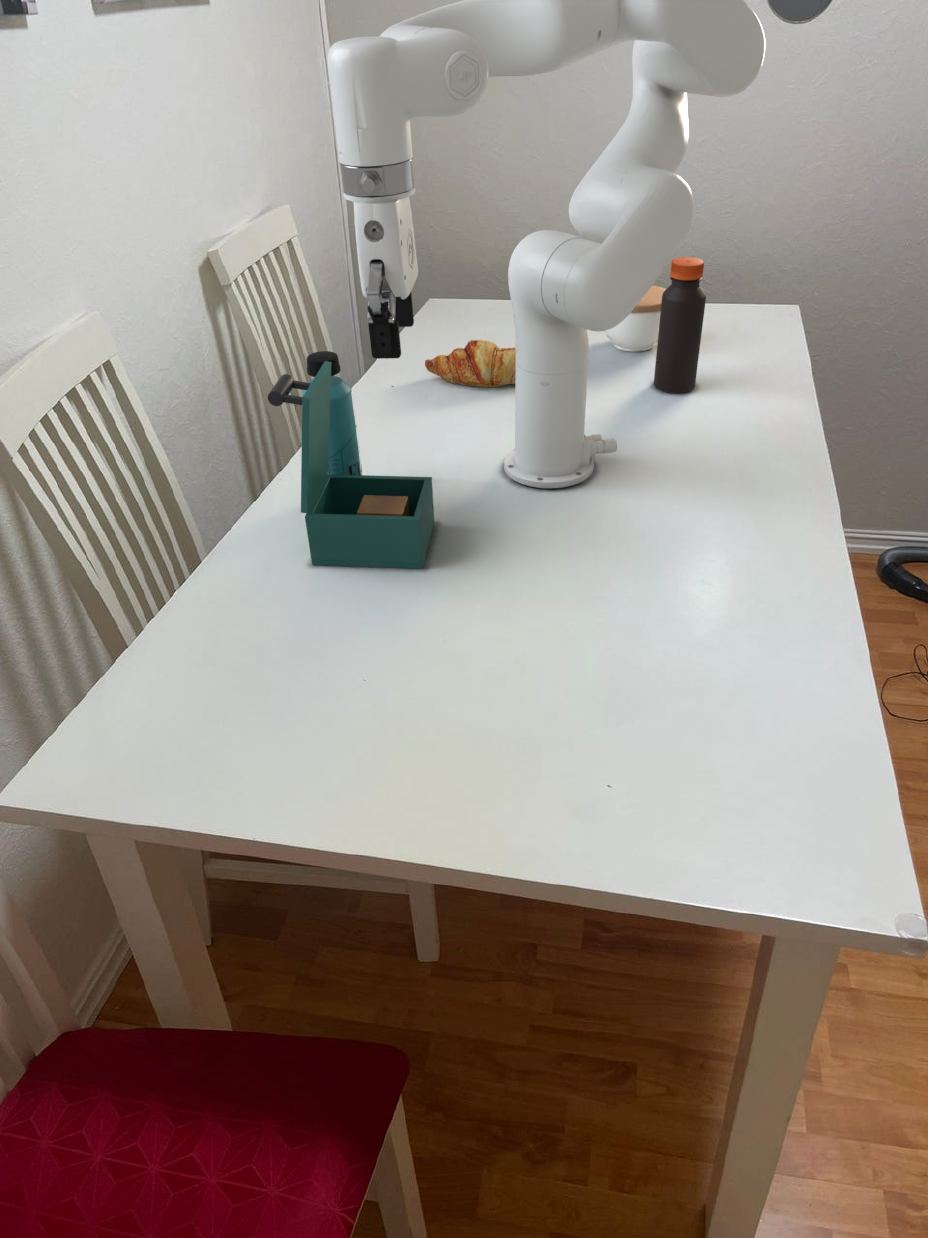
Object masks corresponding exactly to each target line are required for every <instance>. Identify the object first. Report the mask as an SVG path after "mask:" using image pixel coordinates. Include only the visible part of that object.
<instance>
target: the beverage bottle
mask: <svg viewBox="0 0 928 1238" xmlns="http://www.w3.org/2000/svg"><path fill="white" fill-rule="evenodd" d="M325 361H327V362H331V393H330V424H329V454H328V472H327V474H329V475H363V468H362V465H361V459H362V457H361V456H360V446H359V445H360V444H359V440H358V434H357V433H358V432H357V426H358V425H357V423H356V417H357V416H356V414H355V410H354V401H353V396H352V395H353V394H352V390H353V389H352V386H351V385H350V383H348V382H347V381H346V380H344V379H343V378H341V377H340V376H337V375H338V374H340V372H341V371H342V369H341V365H340V360H339V356H338V354H337V353H336V352H334V351H329V350H320V351H316V352H312V353H310V354H308V355H307V357H306V372H307V375H308V376H310V377H313V378H312V379H311V380H309V381H308V383H312V381H313V380H314V378H315V376H316V375H317V373H318V372H319V370H320V368H321V367H322V365H323V363H324V362H325ZM306 391H307V390H302V391H301V397H303V396H304V394H305V392H306Z"/></svg>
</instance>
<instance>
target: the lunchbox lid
mask: <svg viewBox="0 0 928 1238" xmlns="http://www.w3.org/2000/svg"><path fill="white" fill-rule="evenodd" d="M313 379H314V380H313V381H312V383H309V382H306V381H299V380H295V378H294V377H293V376H292V375H290V374H289V373H288V374H287V373H284V374H282V375H280V377H279V378H278V380H277V381H276V382H275V384H274V385H273V387H272V388H271V390H270V391H269V392H268V394H267V401H268V402H269V404H270V405H271V406H273V407H281V406H282V405H283V404H284V403H285V404H292V405H299V406H301V460H300V461H301V462H300V464H301V467H300V468H301V469H300V513H301V514H306V513H308V511H309V509H310V507H311V505H312V503H313V501H314V499H315V497H316V495H317V493H318V491H319V489H320V487H321V484H322V482H323V480H324V478H325V476H326V474H327V472H328V454H329V424H330V393H331V362H327V361H325V362H324V363H323V365H322V367H321V368H320V370H319V372H318V373H317V375H316V376H315V377H313ZM293 389H295V390H302V391H303V390H307V391H306V392H305V394H304V396H299V395H293V394H290V393H291V392H292V390H293Z"/></svg>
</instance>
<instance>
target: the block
mask: <svg viewBox="0 0 928 1238" xmlns="http://www.w3.org/2000/svg"><path fill="white" fill-rule="evenodd" d="M357 515H379V516H410V512H409V499H408V496H377V495H364V496H363V499H362V501H361V503H360V506H359V508H358V511H357Z"/></svg>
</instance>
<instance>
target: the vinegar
mask: <svg viewBox="0 0 928 1238" xmlns="http://www.w3.org/2000/svg"><path fill="white" fill-rule="evenodd" d="M704 268H705V260H703V259H701V258H698V257H691V256H684V257H683V256H681V257H676V258H673V259H672V260H671V262H670V272H669V273H670V277H669V279H670V281H671V283H670V285H669V286H668V287H667V288H665V289H666V290H665V291H664V292H663V295H662V302H661V313H660V323H659V333H658V342H657V345H656V353H655V354H656V355H655V365H654V374H653V375H654V376H653V386H654V387H655V388H656V389H657V390H658V391H661V392H663V393H668V394H683V393H688V392H690V391H692V390H693V389H695V387H696V382H697V374H698V373H697V372H698V366H699V365H698V364H699V357H700V349H701V341H702V333H703V325H704V319H705V318H704V317H705V309H706V301H707V293H706V292H705V291H704V289H703V288H702V287H701V285H700V284H701V283H700V282H701V281H703V275H704Z"/></svg>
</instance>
